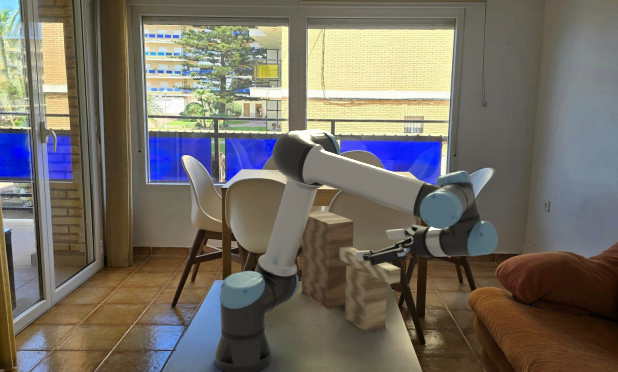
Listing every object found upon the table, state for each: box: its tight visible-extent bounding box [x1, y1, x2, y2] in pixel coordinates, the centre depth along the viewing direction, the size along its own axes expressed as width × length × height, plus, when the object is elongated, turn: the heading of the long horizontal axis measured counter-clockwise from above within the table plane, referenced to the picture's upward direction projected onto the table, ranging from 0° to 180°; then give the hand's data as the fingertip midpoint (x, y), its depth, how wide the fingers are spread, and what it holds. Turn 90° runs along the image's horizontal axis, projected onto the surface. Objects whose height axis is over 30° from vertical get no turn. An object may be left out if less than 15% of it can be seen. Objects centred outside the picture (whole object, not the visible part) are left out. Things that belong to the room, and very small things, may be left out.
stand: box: [301, 210, 355, 310], centre depth 171 cm, size 18×10×30 cm, turn 31°
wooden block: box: [339, 246, 401, 285], centre depth 150 cm, size 26×4×4 cm, turn 31°
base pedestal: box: [344, 265, 388, 333], centre depth 152 cm, size 11×8×18 cm
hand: (373, 245), depth 133 cm, fingers open, 13 cm apart
